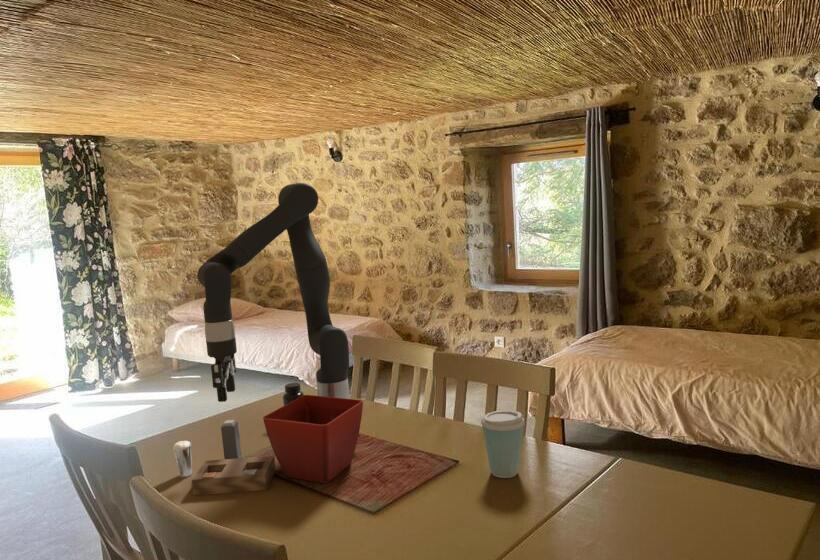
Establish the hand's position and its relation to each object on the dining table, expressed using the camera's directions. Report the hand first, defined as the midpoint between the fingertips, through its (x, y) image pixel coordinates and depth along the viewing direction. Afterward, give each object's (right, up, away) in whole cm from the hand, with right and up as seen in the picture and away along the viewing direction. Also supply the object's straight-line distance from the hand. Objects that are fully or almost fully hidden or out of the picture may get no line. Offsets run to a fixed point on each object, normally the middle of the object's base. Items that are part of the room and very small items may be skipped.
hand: (227, 396), depth 163 cm
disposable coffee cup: (+73, -17, -13) cm, 76 cm away
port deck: (+5, -20, -8) cm, 22 cm away
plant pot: (+26, -19, -5) cm, 32 cm away
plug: (+1, -19, +4) cm, 20 cm away
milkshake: (-10, -21, -2) cm, 23 cm away
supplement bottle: (+12, -15, +34) cm, 39 cm away
